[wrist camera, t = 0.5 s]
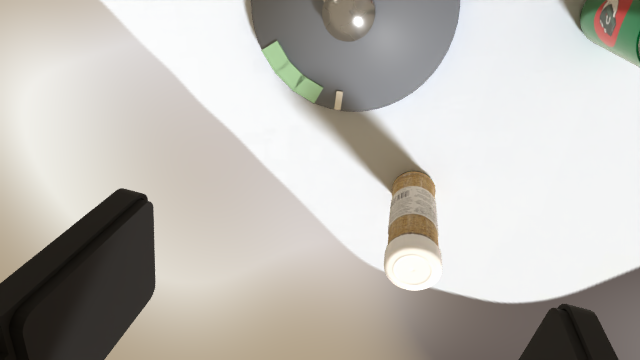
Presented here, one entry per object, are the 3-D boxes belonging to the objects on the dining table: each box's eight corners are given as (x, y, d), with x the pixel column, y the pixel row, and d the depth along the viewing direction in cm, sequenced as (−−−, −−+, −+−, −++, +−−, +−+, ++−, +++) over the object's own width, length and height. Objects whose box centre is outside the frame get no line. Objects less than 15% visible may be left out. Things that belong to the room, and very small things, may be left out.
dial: (243, -101, 36) (236, -103, 34) (469, -124, 32) (471, -127, 31) (268, 106, 44) (263, 111, 43) (450, 106, 41) (451, 112, 39)
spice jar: (403, 212, 47) (399, 299, 35) (384, 179, 46) (373, 258, 34) (443, 197, 45) (452, 283, 34) (424, 162, 44) (427, 239, 32)
